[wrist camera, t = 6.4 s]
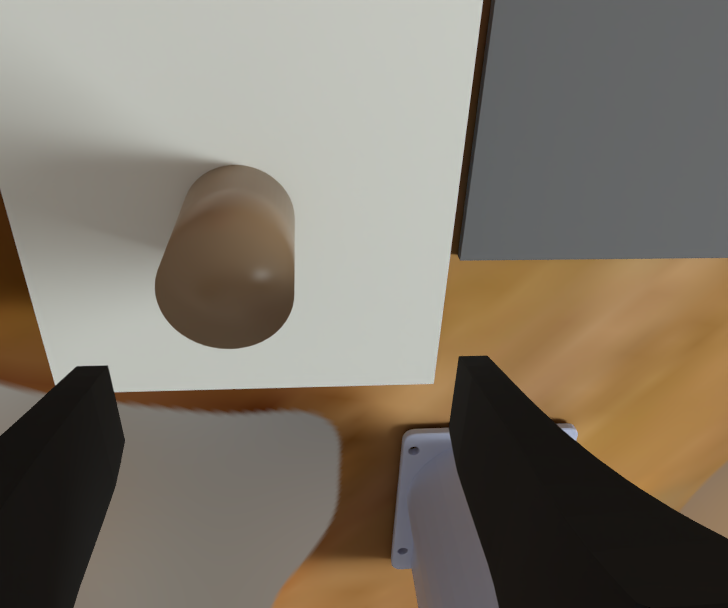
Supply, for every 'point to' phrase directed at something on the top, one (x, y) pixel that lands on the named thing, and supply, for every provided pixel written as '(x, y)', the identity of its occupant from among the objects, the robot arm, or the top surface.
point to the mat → (600, 132)
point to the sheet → (237, 105)
